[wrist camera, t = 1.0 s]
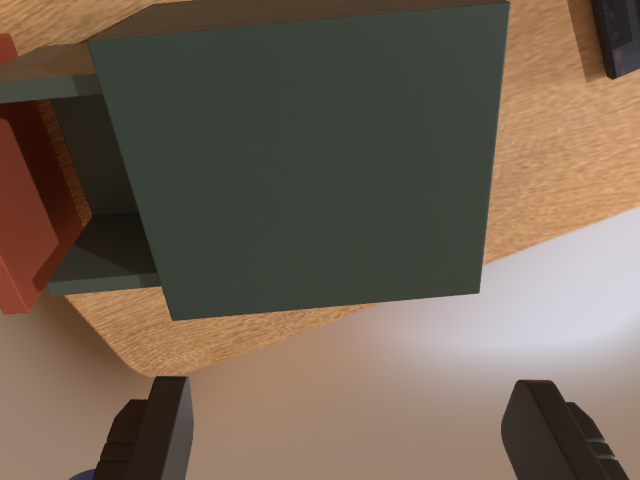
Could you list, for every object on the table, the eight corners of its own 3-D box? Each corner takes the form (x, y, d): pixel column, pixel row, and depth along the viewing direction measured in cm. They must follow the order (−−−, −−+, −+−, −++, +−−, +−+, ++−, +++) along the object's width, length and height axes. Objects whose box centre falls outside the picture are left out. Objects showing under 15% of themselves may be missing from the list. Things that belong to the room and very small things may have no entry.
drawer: (-5, 238, 31) (-85, 323, 24) (-101, 43, 25) (-242, 85, 18) (284, 212, 31) (282, 290, 24) (257, 10, 25) (244, 40, 18)
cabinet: (203, 221, 32) (171, 321, 24) (152, 4, 25) (85, 41, 17) (432, 200, 32) (479, 294, 24) (442, -23, 25) (512, 1, 17)
